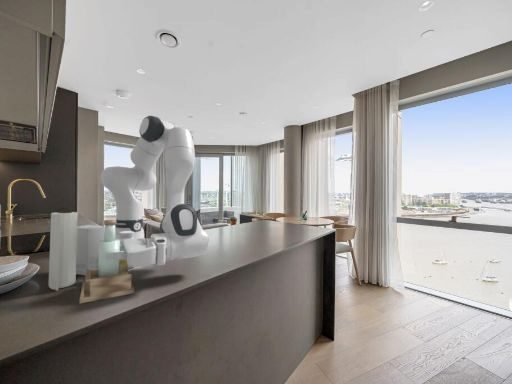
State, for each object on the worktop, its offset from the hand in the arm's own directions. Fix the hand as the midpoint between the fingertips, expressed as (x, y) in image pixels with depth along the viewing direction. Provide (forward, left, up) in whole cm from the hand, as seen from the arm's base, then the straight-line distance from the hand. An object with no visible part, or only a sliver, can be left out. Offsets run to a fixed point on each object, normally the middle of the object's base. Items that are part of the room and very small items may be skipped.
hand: (105, 253), depth 65 cm
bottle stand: (0, +1, -10) cm, 10 cm away
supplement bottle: (-14, +16, -11) cm, 23 cm away
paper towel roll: (-14, -4, -11) cm, 18 cm away
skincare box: (-20, +6, -11) cm, 23 cm away
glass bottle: (0, +1, -9) cm, 9 cm away
